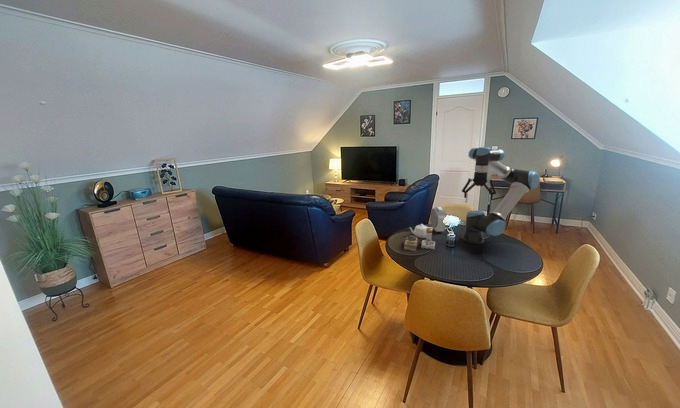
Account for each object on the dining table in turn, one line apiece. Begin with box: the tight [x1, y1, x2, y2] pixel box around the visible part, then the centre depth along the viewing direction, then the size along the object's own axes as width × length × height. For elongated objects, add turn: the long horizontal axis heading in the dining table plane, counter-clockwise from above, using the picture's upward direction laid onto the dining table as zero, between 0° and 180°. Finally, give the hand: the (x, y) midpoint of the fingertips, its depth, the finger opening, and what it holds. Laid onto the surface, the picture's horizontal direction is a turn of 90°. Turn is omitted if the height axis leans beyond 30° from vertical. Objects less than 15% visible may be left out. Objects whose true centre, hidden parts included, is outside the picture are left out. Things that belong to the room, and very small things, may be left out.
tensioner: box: [403, 235, 419, 252], centre depth 201 cm, size 14×8×7 cm, turn 159°
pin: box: [425, 228, 434, 246], centre depth 199 cm, size 4×4×13 cm
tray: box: [420, 239, 436, 251], centre depth 201 cm, size 9×9×2 cm
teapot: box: [409, 223, 433, 239], centre depth 219 cm, size 20×12×10 cm, turn 96°
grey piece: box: [429, 206, 448, 233], centre depth 228 cm, size 18×8×20 cm, turn 179°
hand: (477, 203), depth 183 cm, fingers open, 13 cm apart
